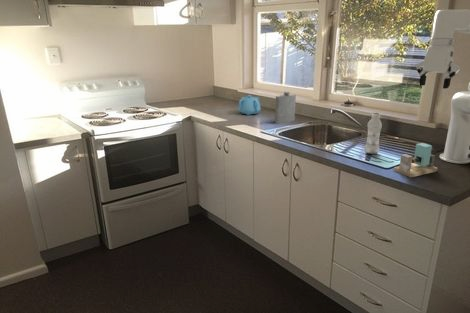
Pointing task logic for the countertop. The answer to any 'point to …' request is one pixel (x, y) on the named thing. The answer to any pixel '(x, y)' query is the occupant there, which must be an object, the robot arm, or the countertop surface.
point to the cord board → (414, 166)
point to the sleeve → (423, 153)
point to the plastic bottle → (373, 134)
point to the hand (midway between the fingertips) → (433, 86)
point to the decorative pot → (249, 105)
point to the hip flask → (285, 108)
